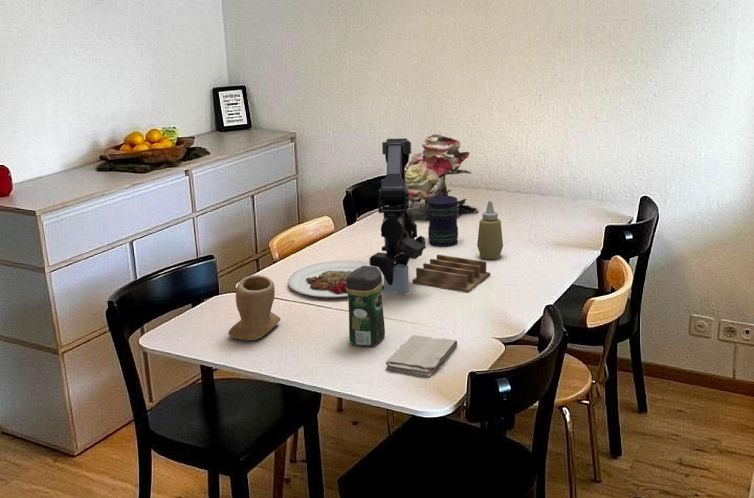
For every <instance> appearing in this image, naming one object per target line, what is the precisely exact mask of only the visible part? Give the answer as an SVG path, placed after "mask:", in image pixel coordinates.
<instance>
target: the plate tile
mask: <svg viewBox="0 0 754 498" xmlns="http://www.w3.org/2000/svg"><path fill="white" fill-rule="evenodd" d="M409 284H410V281H409V265H408V264H407V265H402V264H398V265H397V266H396V267H395V268H394V274H393V284H392V285H389V284H388V283H387V281H386V279H385V277H384V285H383V289H384V290H383V291H385V292H389V293H395V294H402V295H407V294H408V293H410V285H409Z"/></svg>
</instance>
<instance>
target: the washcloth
mask: <svg viewBox="0 0 754 498" xmlns="http://www.w3.org/2000/svg"><path fill="white" fill-rule="evenodd" d="M457 347H458V340H456V339H450V338H443V337H442V338H437V337H436V338H435V337H430V336H424V335H417V334H416V335H415V334H413V335H411V337H409V338H408V339H407V340H406V341H405V342H404V343H403V344H402V345H401V346H400V347H399V348H398V349H397V350H396V351H394V353H393V354H392V355H391V356H389V358H388V359H387V360H386V361H385V365H386V368H385V370H387V371H389V370H390V371H391V372H394V373H399V374H405V375H411V376H412V375H413V376H416V377H417V376H418V377H424V378H429V377H431V376H433V375H435V373H436V372H438V371H439V370H440V369H441V367H442V366H443V365H444V364H445V362H447V360H448V359H449V358H450V356H451V355H452V354H453V353H454V352H455V350H457Z"/></svg>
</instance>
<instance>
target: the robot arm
mask: <svg viewBox="0 0 754 498" xmlns="http://www.w3.org/2000/svg"><path fill="white" fill-rule="evenodd" d="M381 147H382V155H385V157H384V158H385V163H386V176H385V178H384V179H382V181H381V187H380V188H379V189H378V213H379V214H383V219H382V223H381V226H380V235H381V238H383V239H384V245H383V246H381V251H382V252H379V251H377V252H376V253H375V254H373V255H371V256H370V257H369V258H368V259H369V260H368V261H369V263H370V266H375V267H378V268H379V269H380V271H381V272H382V274H383V275H384V277H385V279H386V281H387V283H388V284H389V285H392V284H393V274H394V268H395V267H396V266H397V265H398V264H402V265H408V264H409V261H410V259H412V260H416V259H417V258H420V257H422V255H423V251H424V250H426V248H427V246H426V239H425V237H424V236H422V235H419V236H418V227H417V224H416V222H415V220H412V213H411V211H410V209H409V207H410V205H409V204H410V201H409V192H408V191H407V188H406V182H405V173H406V168H405V166H408V164H409V162H410V155H411V154H412V142H411V141H410V140H409V139H407V138H387V139H386V140H385V141H384V142H382V144H381ZM385 252H386V253H385Z"/></svg>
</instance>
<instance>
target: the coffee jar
mask: <svg viewBox="0 0 754 498" xmlns="http://www.w3.org/2000/svg"><path fill="white" fill-rule="evenodd" d="M346 290H347V294H348V296H347V300H348V301H347V302H348V331H349V332H348V333H349V335H348V336H349V338H348V339H349V342H350V344H352V345H355V346H357V347H360V348H361V347H364V348H365V347H374V346H376V345H377V344H379V343H380V342H381V340H383V339H384V337H385V335H386V330H385V329H386V328H385V317H384V307H383V306H384V305H383V286H382V276H381V271H380V270H379V269H378V268H377V267H372V266H361V267H360V268H358V269H356V270H354V271H353V272H352V273H350V274H349V275H348V276H347V277H346Z"/></svg>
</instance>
